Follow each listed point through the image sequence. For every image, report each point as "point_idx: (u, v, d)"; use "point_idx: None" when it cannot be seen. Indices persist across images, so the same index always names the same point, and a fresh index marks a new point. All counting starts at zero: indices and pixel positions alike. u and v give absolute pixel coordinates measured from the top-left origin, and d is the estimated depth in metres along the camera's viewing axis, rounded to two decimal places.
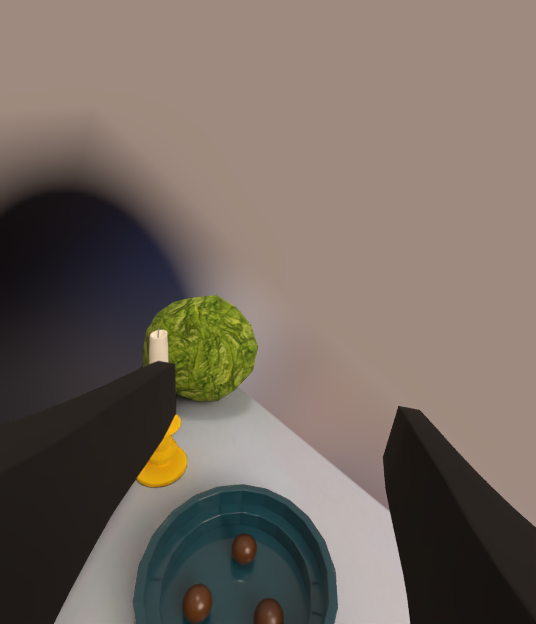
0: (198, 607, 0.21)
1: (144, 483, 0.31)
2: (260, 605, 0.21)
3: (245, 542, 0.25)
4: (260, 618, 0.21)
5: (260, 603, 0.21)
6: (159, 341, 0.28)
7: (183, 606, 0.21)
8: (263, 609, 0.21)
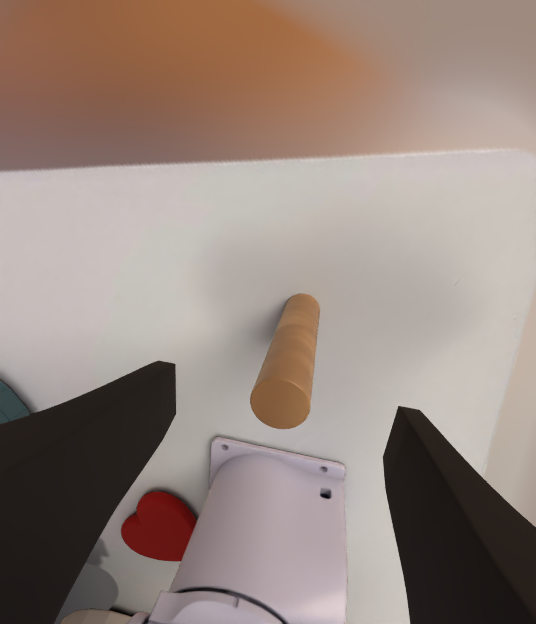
0: None
1: None
2: None
3: None
4: None
5: None
6: None
7: None
8: None
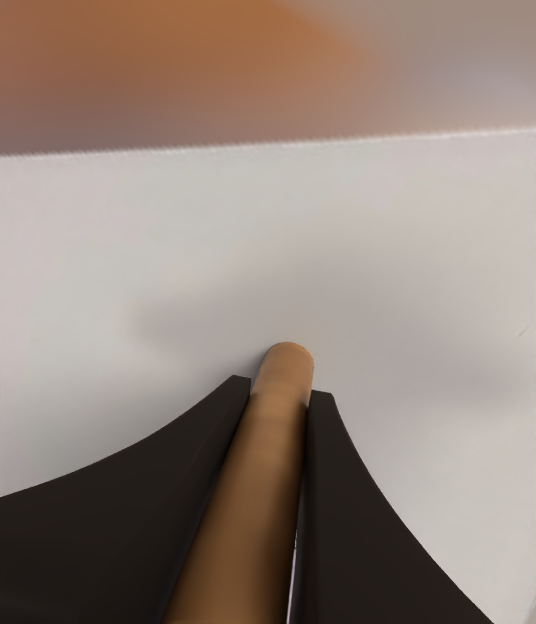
0: None
1: None
2: None
3: None
4: None
5: None
6: None
7: None
8: None
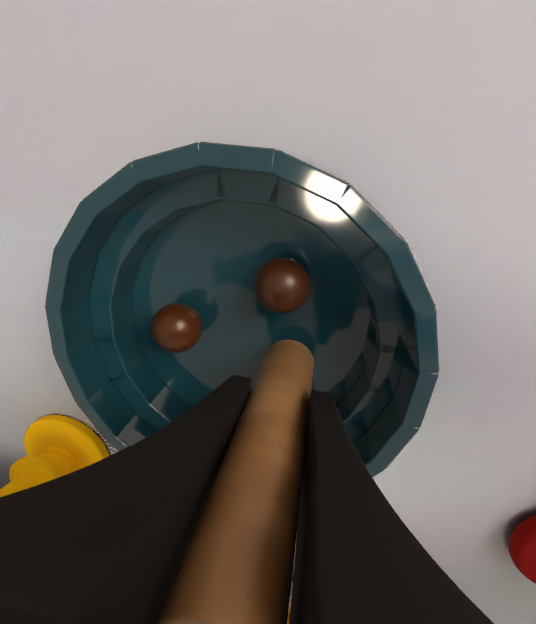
0: None
1: None
2: (270, 308, 0.11)
3: (169, 337, 0.12)
4: (290, 307, 0.11)
5: (267, 307, 0.11)
6: None
7: None
8: (278, 305, 0.11)
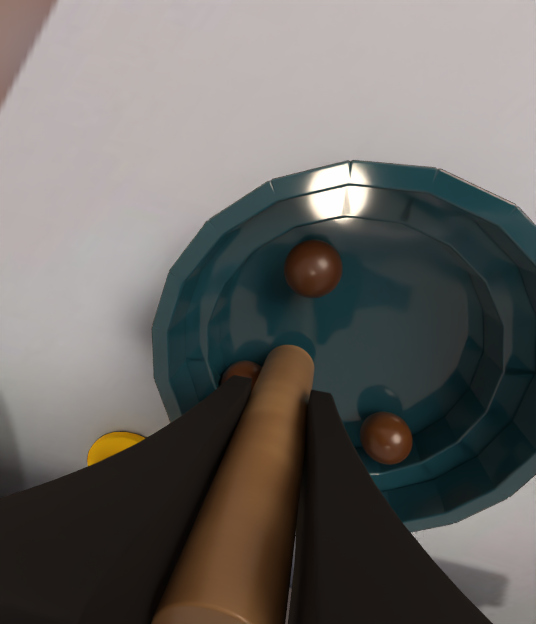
0: None
1: None
2: (294, 247, 0.11)
3: None
4: (287, 264, 0.11)
5: (296, 245, 0.11)
6: None
7: None
8: (295, 252, 0.11)
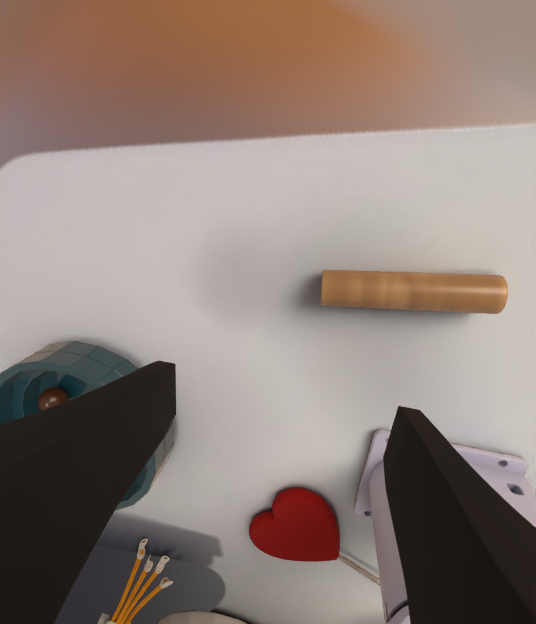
0: None
1: None
2: (42, 394, 0.24)
3: None
4: None
5: (44, 394, 0.24)
6: None
7: None
8: (40, 394, 0.24)
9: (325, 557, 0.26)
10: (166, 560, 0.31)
